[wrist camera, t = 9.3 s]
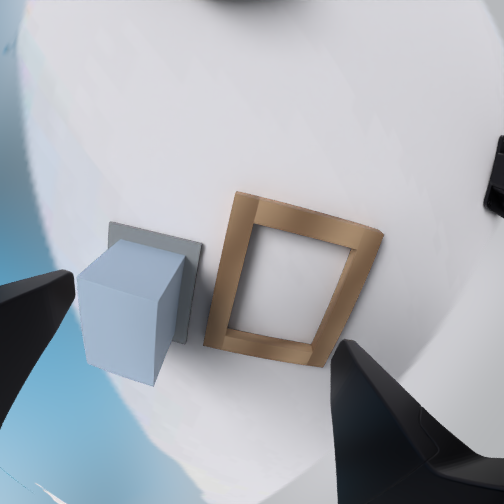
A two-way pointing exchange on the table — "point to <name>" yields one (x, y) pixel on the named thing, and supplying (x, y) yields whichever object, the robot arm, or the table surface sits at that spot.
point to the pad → (172, 245)
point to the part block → (130, 309)
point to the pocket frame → (302, 223)
